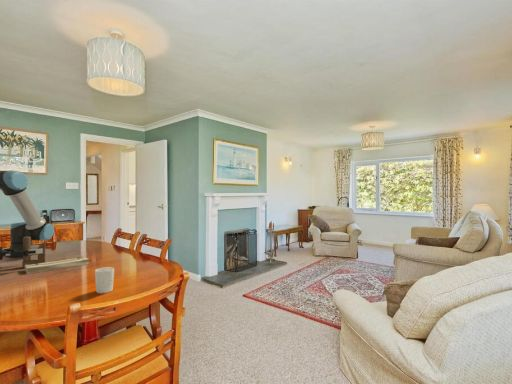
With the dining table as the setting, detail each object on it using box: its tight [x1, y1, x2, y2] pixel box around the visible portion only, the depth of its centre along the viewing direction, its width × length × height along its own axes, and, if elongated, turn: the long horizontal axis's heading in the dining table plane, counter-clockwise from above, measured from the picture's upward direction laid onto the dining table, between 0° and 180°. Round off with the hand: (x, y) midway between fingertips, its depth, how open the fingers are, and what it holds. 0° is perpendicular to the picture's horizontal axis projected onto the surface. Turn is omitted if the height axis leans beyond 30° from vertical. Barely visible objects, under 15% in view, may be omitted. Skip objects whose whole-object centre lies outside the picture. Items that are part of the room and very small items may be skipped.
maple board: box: [24, 256, 90, 275], centre depth 168 cm, size 10×30×3 cm, turn 135°
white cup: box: [94, 266, 115, 294], centre depth 130 cm, size 8×8×10 cm
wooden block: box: [21, 237, 46, 269], centre depth 169 cm, size 4×11×18 cm, turn 125°
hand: (40, 248), depth 171 cm, fingers open, 13 cm apart
